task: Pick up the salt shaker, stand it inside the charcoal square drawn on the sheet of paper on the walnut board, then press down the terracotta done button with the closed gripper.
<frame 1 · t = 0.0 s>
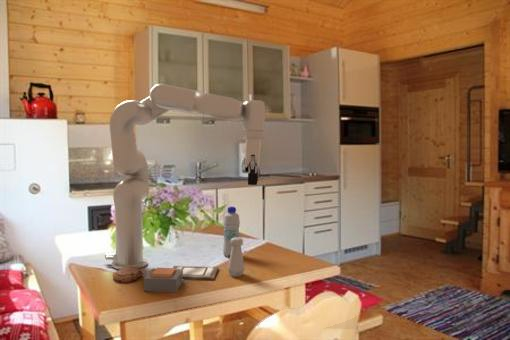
hand: (253, 183, 156), 31 cm above the table, tool pointing down, fingers open, 9 cm apart
done button: (164, 275, 138), point 4 cm above the table, slide at 0.0 cm
cookie: (127, 279, 146), on the table
salt shaker: (236, 275, 151), on the table
button housing: (164, 286, 138), on the table
bottle: (230, 256, 175), on the table
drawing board: (193, 273, 151), on the table
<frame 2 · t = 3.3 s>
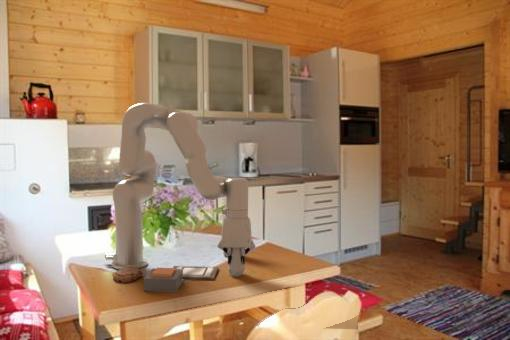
hand: (236, 265, 150), 3 cm above the table, tool pointing down, fingers closed on salt shaker, 3 cm apart
salt shaker: (236, 275, 151), on the table, touching gripper
everything else where it was.
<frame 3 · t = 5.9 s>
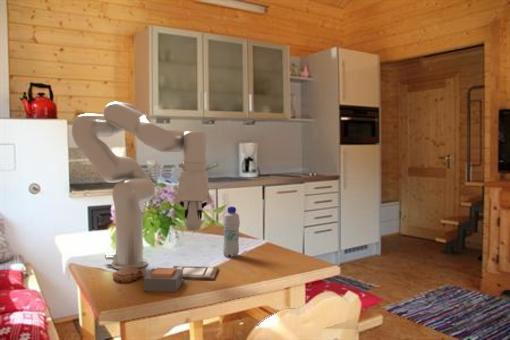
hand: (193, 220, 150), 19 cm above the table, tool pointing down, fingers closed on salt shaker, 3 cm apart
salt shaker: (193, 229, 150), point 15 cm above the table, touching gripper
everything else where it was.
when the fingers open (5 cm above the table, at t = 8.7 s): salt shaker drops 1 cm, resting on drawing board.
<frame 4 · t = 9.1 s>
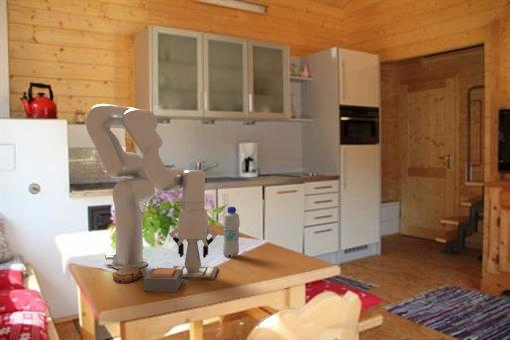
hand: (193, 256, 151), 6 cm above the table, tool pointing down, fingers open, 7 cm apart
salt shaker: (193, 271, 151), point 1 cm above the table, touching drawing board
everything else where it was.
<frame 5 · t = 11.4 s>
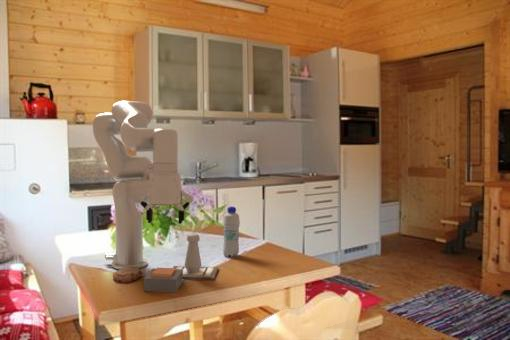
hand: (165, 222, 137), 20 cm above the table, tool pointing down, fingers open, 9 cm apart
nothing on the table moved.
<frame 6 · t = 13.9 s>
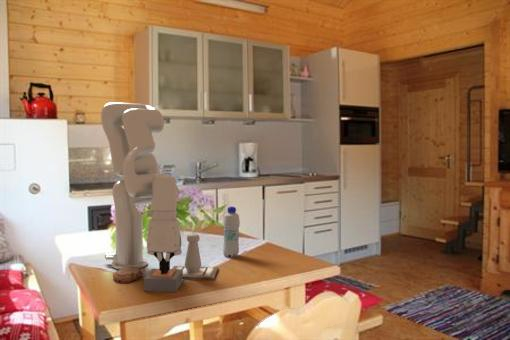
hand: (164, 272, 138), 4 cm above the table, tool pointing down, fingers closed
done button: (164, 276, 138), point 3 cm above the table, slide at 0.6 cm, touching gripper
everything else where it was.
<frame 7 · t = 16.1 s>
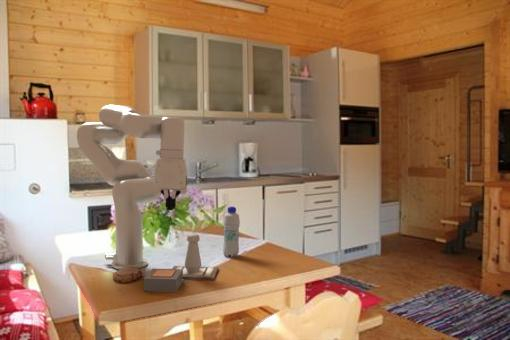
hand: (170, 209, 145), 23 cm above the table, tool pointing down, fingers closed
done button: (164, 277, 138), point 3 cm above the table, slide at 0.8 cm
everything else where it was.
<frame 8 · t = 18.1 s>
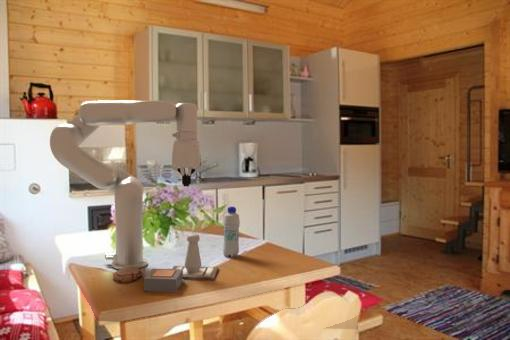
hand: (186, 186, 162), 29 cm above the table, tool pointing down, fingers closed
nothing on the table moved.
at the end: salt shaker 0.1 cm off-centre on the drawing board, point 0.7 cm above the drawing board's base; salt shaker tilted 0°; done button slide at 0.8 cm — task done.
